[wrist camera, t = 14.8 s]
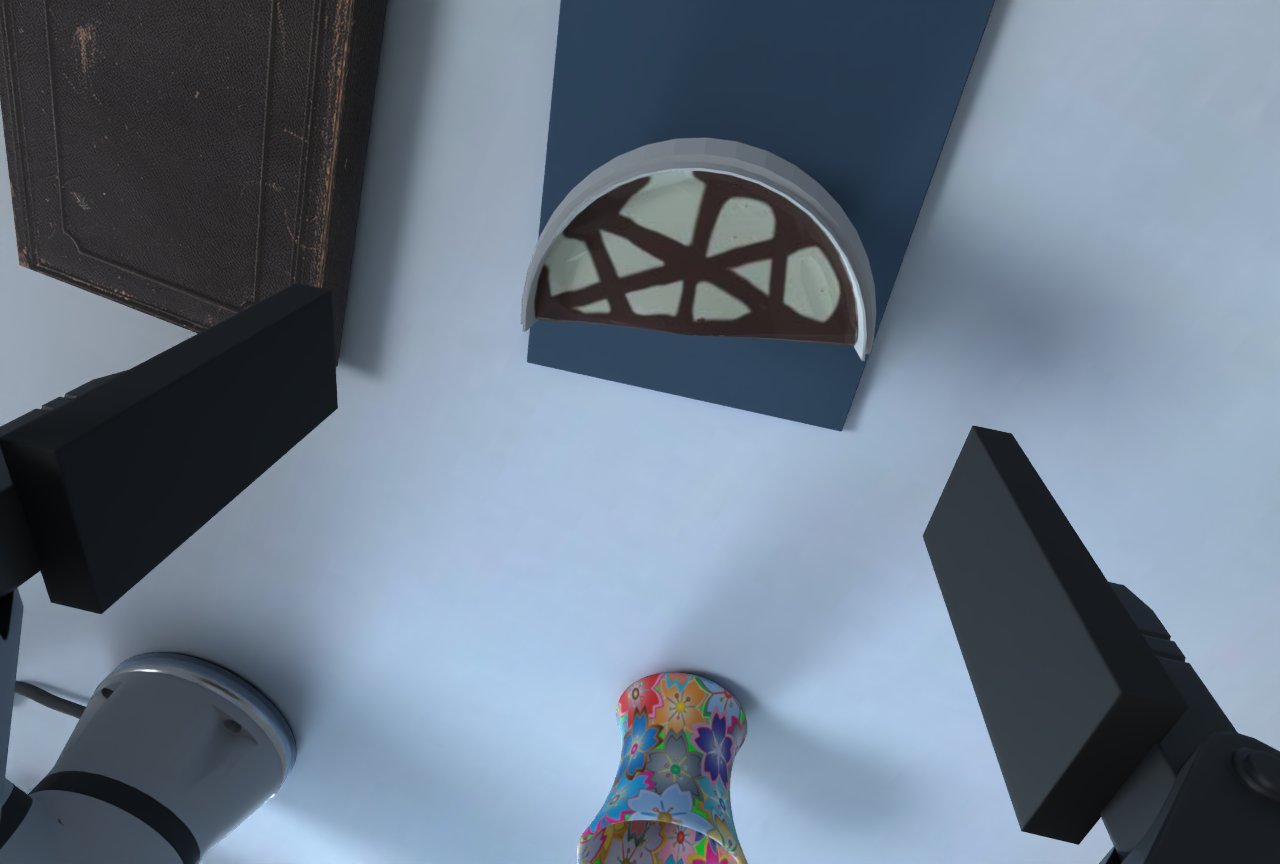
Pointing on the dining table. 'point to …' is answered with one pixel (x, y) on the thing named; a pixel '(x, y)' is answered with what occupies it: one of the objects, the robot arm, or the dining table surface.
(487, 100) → the dining table surface
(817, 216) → the food container
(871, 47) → the mat
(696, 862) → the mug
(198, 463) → the robot arm
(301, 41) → the hardcover book
